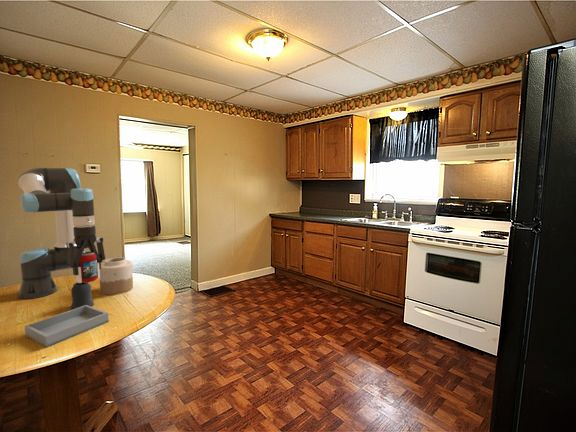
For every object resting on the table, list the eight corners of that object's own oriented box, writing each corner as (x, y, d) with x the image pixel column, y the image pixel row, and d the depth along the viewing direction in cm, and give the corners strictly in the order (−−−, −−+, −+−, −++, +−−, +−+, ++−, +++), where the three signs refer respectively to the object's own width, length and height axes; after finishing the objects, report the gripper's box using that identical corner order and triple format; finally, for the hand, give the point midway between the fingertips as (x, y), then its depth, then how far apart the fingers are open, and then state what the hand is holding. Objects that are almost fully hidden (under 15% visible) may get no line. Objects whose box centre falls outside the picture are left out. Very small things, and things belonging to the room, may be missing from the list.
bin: (25, 336, 113) (24, 326, 112) (87, 313, 132) (86, 304, 132) (47, 347, 106) (46, 336, 105) (108, 321, 125) (108, 312, 124)
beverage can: (89, 284, 122) (87, 255, 121) (74, 282, 123) (72, 254, 122) (101, 278, 129) (100, 251, 127) (88, 277, 130) (86, 250, 128)
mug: (94, 307, 138) (92, 284, 137) (70, 312, 133) (68, 288, 132) (93, 298, 148) (92, 277, 147) (71, 302, 143) (69, 280, 142)
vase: (138, 288, 163) (137, 258, 161) (109, 297, 150) (107, 265, 148) (123, 282, 171) (121, 254, 169) (94, 291, 158) (92, 260, 156)
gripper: (63, 230, 113) (67, 288, 115) (113, 223, 130) (116, 274, 133) (52, 228, 116) (57, 285, 119) (102, 222, 133) (105, 272, 136)
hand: (88, 279), depth 126 cm, fingers closed on beverage can, 7 cm apart
